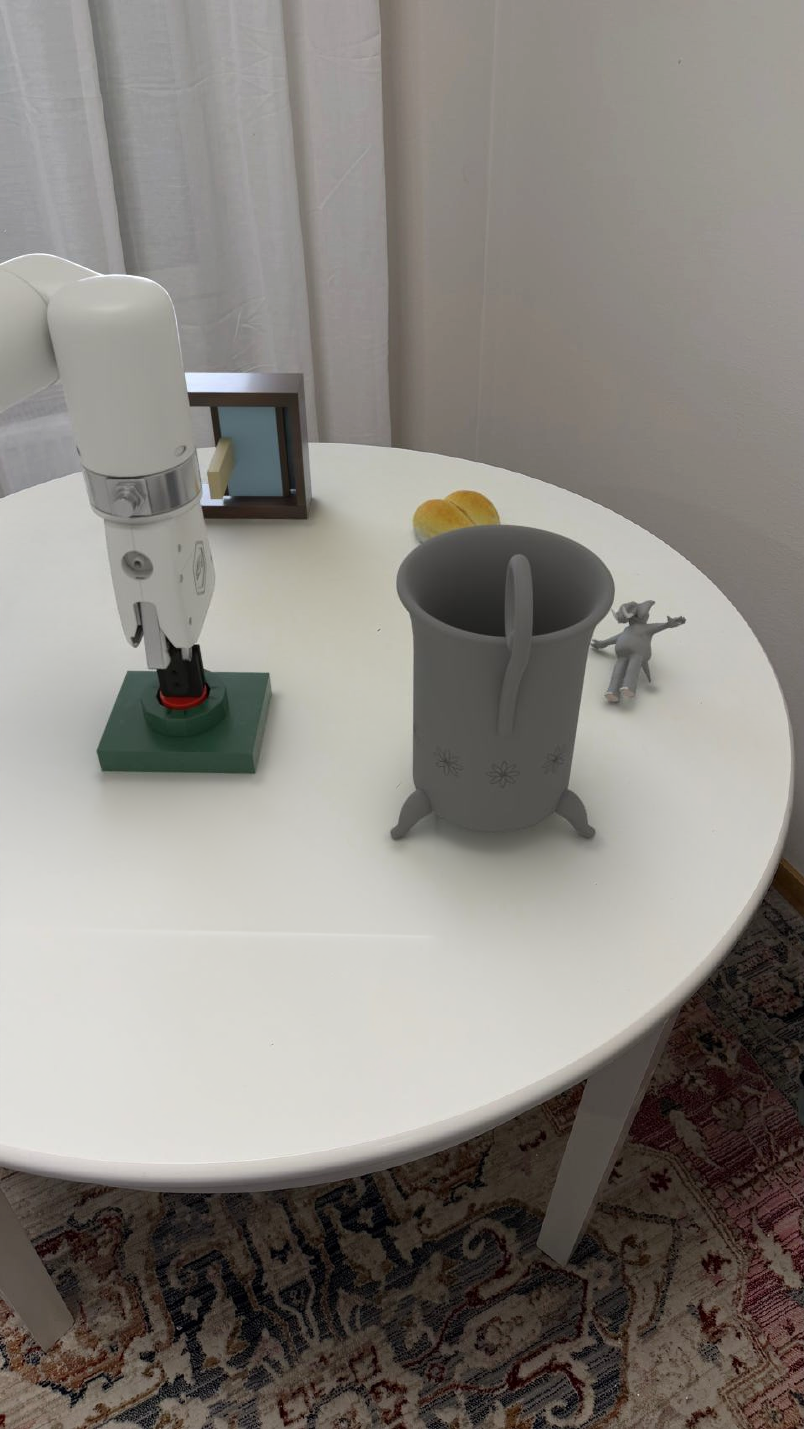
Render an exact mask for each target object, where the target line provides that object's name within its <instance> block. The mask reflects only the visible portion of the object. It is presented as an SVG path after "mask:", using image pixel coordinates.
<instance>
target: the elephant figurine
mask: <svg viewBox="0 0 804 1429" xmlns="http://www.w3.org/2000/svg"><path fill="white" fill-rule="evenodd" d="M655 604H656V601H655V600H653V599H652V600H651V599H649V600H644V601H643V602H639V603H638V602H636V601H634V600H633V601H629V602H627V603H626V602H625V603H622V604H621V605H620V606H619V609H618V610H617V611H616V612H615V610H614V609H613V608H611V609H610V612H611V614H612V616H613V618H614V619H615V621H617V624H624V625H626V624H628V625H627V626H626V627H624V629H623V631H621V632H619V633H618V634H616V635H613V636H610V637H609V638H606V639H604V640H598V639H595V638H592V639H591V643H590V647H592V648H593V649H596V650H600V649H601V650H602V649H606V648H607V647H609V646H612V645H614V652H615V656H616V658H617V661H616V663H615V664H614V666H613V671H612V673H611V674H612V675H611V678H610V681H609V683H608V684H609V685H608V687H607V689H606V692H605V693H604V694H603V696H604V698H605V699H606V700H608V701H610V702H613V703H619V702H620V698H621V695H623V696H625V697H628V698H636V693H637V686H638V677H639V674H640V672H641V668H642V670H643V673H644V674H645V676H646V678H647V681H648V682H649V684H651V683H652V676H651V672H650V666H649V661H650V660H651V657H652V640H653V636H654V635H656V634H658V633H660V632H663V631H664V630H667V629H674V628H678V627H679V626H682V625H684V624H686V622H687V618H685V616H683V615H679V616H678V617H677V616H676V617H673V618H672V617H670V616H669V615H666V619H667V621H666V622H652V623H651V622H650V623H648V621H649V618H650V610H651V609H652V607H653V606H654V605H655Z"/></svg>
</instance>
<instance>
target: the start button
mask: <svg viewBox="0 0 804 1429" xmlns="http://www.w3.org/2000/svg"><path fill="white" fill-rule="evenodd" d="M160 697H161V702H162V706H165V707H167V708H169V709H171V710H186V709H189V708H192V707H195V706H198V705H200V704H201V703H202V702H204V701H205V700H206V699H207V698H208V695H207V690H206V686H205V687H204V688H203V694H202V696H201V697H199V698H195V697H164V696H163V695H162V693H161V691H160Z"/></svg>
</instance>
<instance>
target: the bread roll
mask: <svg viewBox="0 0 804 1429" xmlns="http://www.w3.org/2000/svg"><path fill="white" fill-rule="evenodd" d="M479 525H502V524H501V518H500V516H499V512H498V509H497V508H496V507H495V505H494V503H492V501H491V500H490V499H489V498H488V497H487V496H485V495H483V494H481V493H480V492H478V491H474V490H468V489H466V490H465V489H464V490H463V489H462V490H456V491H453V492H451V493H450V494H448V495H447V496H446V497H445V498H444V499H438V498H437V499H436V498H435V499H434V498H433V499H429V500H427V501H424V502H423V503H422V504H420V505H419V506H418V507H417V509H416V510H415V512H414V514H413V518H412V529H413V532H414V535H415V537H416V538H417V540H419V541H420V542H421V543H423V542H425V541H427V540H428V539H430V538H432V537H435V536H437V535H440V534H442V533H445V532H448V531H452V530H456V529H460V528H465V527H471V526H479Z"/></svg>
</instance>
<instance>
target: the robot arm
mask: <svg viewBox="0 0 804 1429" xmlns="http://www.w3.org/2000/svg"><path fill="white" fill-rule="evenodd" d="M175 310H176V309H175V306H174V303H173V300H172V298H171V297H170V295H169V293H168V291H167V290H166V289H165V288H164V287H163V286H162V285H161V284H159V283H158V282H156V281H154V280H152V279H149V278H146V277H142V276H138V275H132V274H131V275H130V274H102V273H100V272H98V271H94V270H92V269H89V268H88V267H85V266H83V265H80V264H77V263H75V262H73V261H70V260H68V259H66V258H62V257H60V256H57V255H53V254H48V253H39V252H38V253H29V254H24V255H19V256H17V257H14V258H11V259H9V260H6V261H4V262H1V263H0V414H2V413H4V412H6V411H7V410H9V409H10V408H12V407H14V406H16V405H18V404H20V403H21V402H23V401H25V400H26V399H28V398H30V397H32V396H34V395H35V394H36V395H37V393H39V392H41V391H43V390H45V389H48V388H50V387H53V386H56V385H58V384H61V387H62V391H63V396H64V400H65V405H66V409H67V413H68V417H69V421H70V425H71V426H70V427H71V430H72V434H73V439H74V443H75V446H76V451H77V455H78V458H79V462H80V468H81V472H82V476H83V481H84V484H85V489H86V492H87V497H88V502H89V506H90V509H91V510H92V512H93V513H94V514H95V515H96V516H97V517H99V518H101V519H102V520H103V525H104V535H105V543H106V550H107V556H108V563H109V569H110V570H109V571H110V575H111V582H112V586H113V593H114V597H115V602H116V603H115V604H116V607H117V612H118V615H119V616H118V617H119V621H120V625H121V628H122V632H123V635H124V637H125V640H126V642H127V643H128V644H129V645H130V647H132V648H133V649H137V648H138V647H139V646H140V644H141V642H142V639H143V642H144V650H145V659H146V666H147V669H148V670H155V671H157V675H158V679H159V684H160V689H161V693H162V695H163V696H164V697H195V698H199V697H201V696H202V694H203V688H204V687H205V684H206V679H205V673H204V669H205V667H204V662H203V656H202V651H201V644H199V643H197V642H198V641H199V638H200V635H201V633H202V630H203V626H204V624H205V621H206V617H207V614H208V611H209V609H210V605H211V601H212V599H213V594H214V591H215V586H216V571H215V565H214V560H213V556H212V551H211V550H212V549H211V545H210V541H209V535H208V531H207V525H206V522H205V518H204V516H203V511H202V507H201V503H200V500H201V497H202V495H203V490H202V484H203V483H202V478H201V471H200V464H199V458H198V451H197V445H196V438H195V432H194V425H193V419H192V418H193V417H192V411H191V407H190V405H189V398H188V392H187V385H186V379H185V373H186V371H185V367H184V359H183V352H182V346H181V341H180V333H179V328H178V327H179V326H178V321H177V316H176V311H175Z"/></svg>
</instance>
